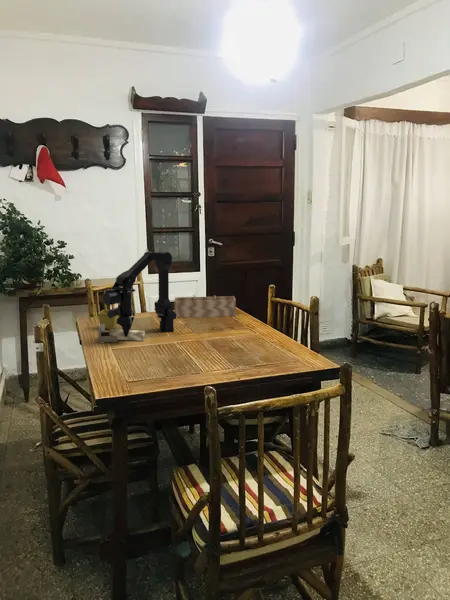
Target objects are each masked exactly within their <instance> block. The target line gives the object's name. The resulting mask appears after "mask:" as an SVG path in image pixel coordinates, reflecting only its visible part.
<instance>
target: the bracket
mask: <svg viewBox="0 0 450 600" xmlns="http://www.w3.org/2000/svg"><path fill="white" fill-rule="evenodd" d="M97 333H98V334H97V336H98V344H102V343H101V342H113V343H112V344H116V343H115V342H117V341H118V342H119V340H117V336H109V331H106V329H105V324H101V325H99V326H98V328H97ZM118 342H117V343H118Z"/></svg>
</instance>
